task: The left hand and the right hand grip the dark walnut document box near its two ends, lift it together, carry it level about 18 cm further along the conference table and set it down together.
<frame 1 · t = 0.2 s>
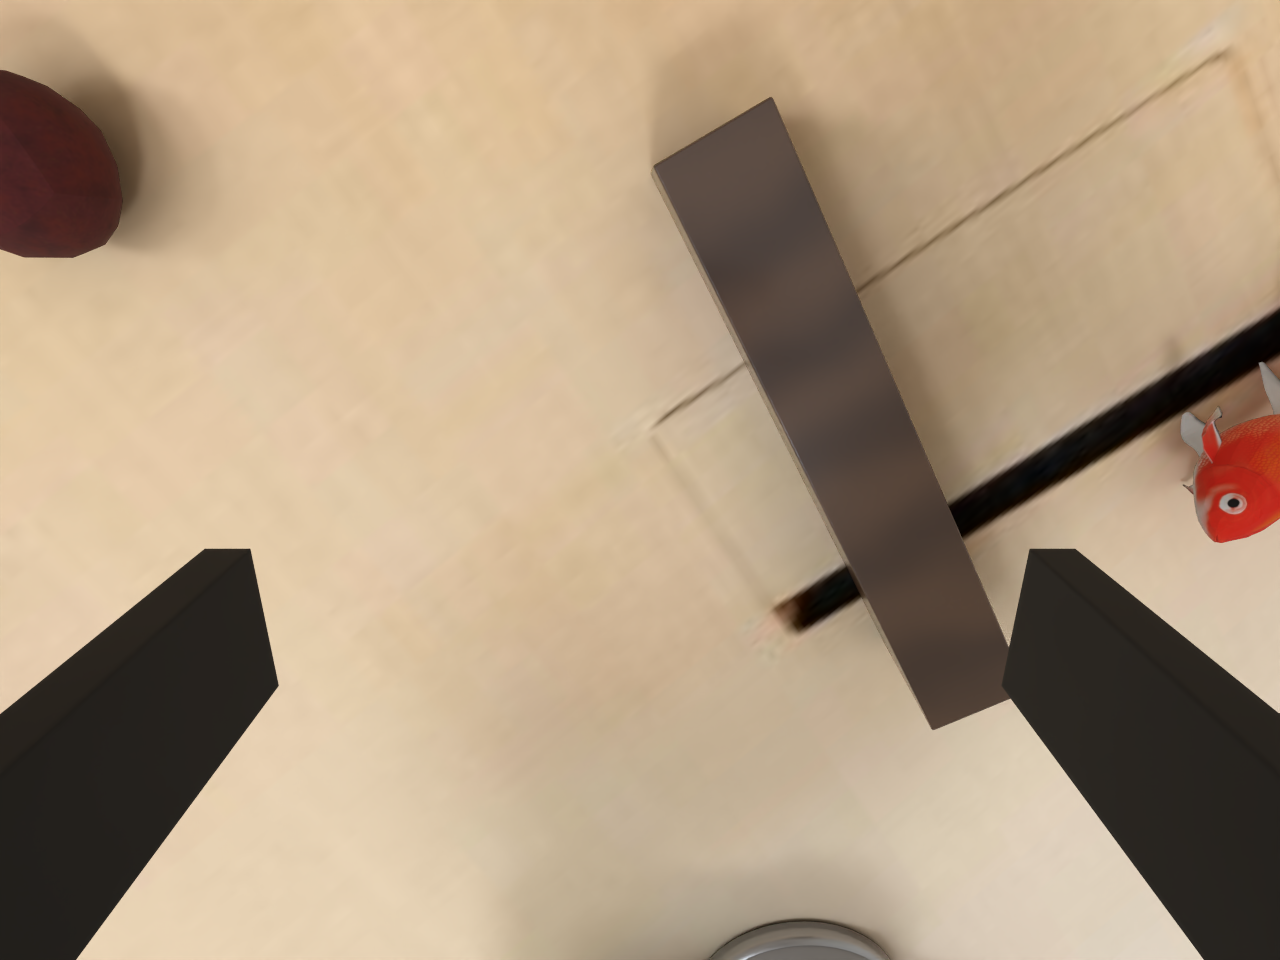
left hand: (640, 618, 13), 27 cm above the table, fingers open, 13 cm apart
walnut box: (823, 413, 40), on the table
fish: (1259, 388, 39), on the table
dark maroon ball: (80, 173, 36), on the table
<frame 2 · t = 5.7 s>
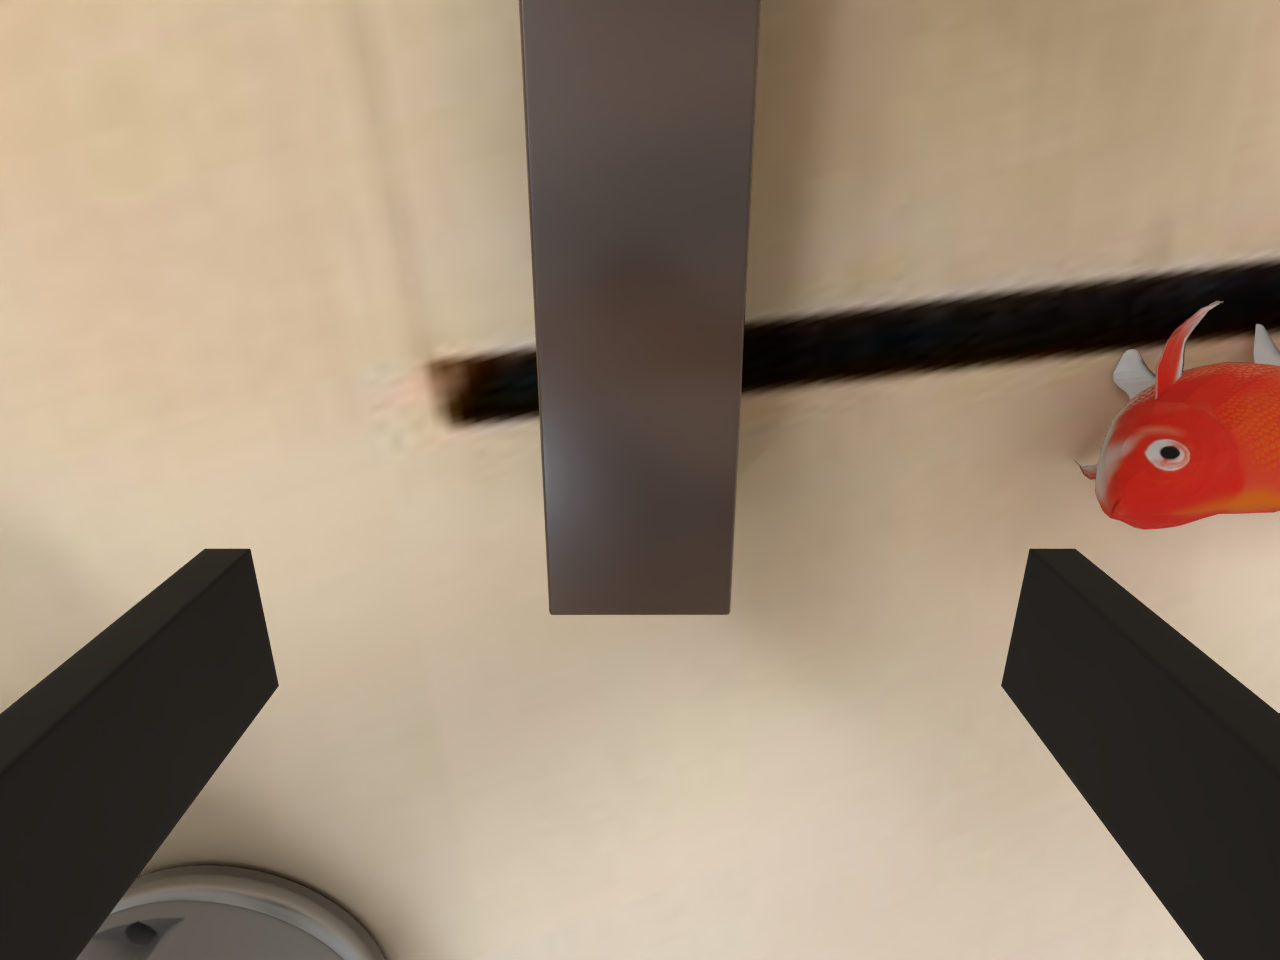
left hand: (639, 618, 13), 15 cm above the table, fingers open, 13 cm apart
walnut box: (639, 49, 23), on the table, touching right hand
fish: (1235, 366, 26), on the table
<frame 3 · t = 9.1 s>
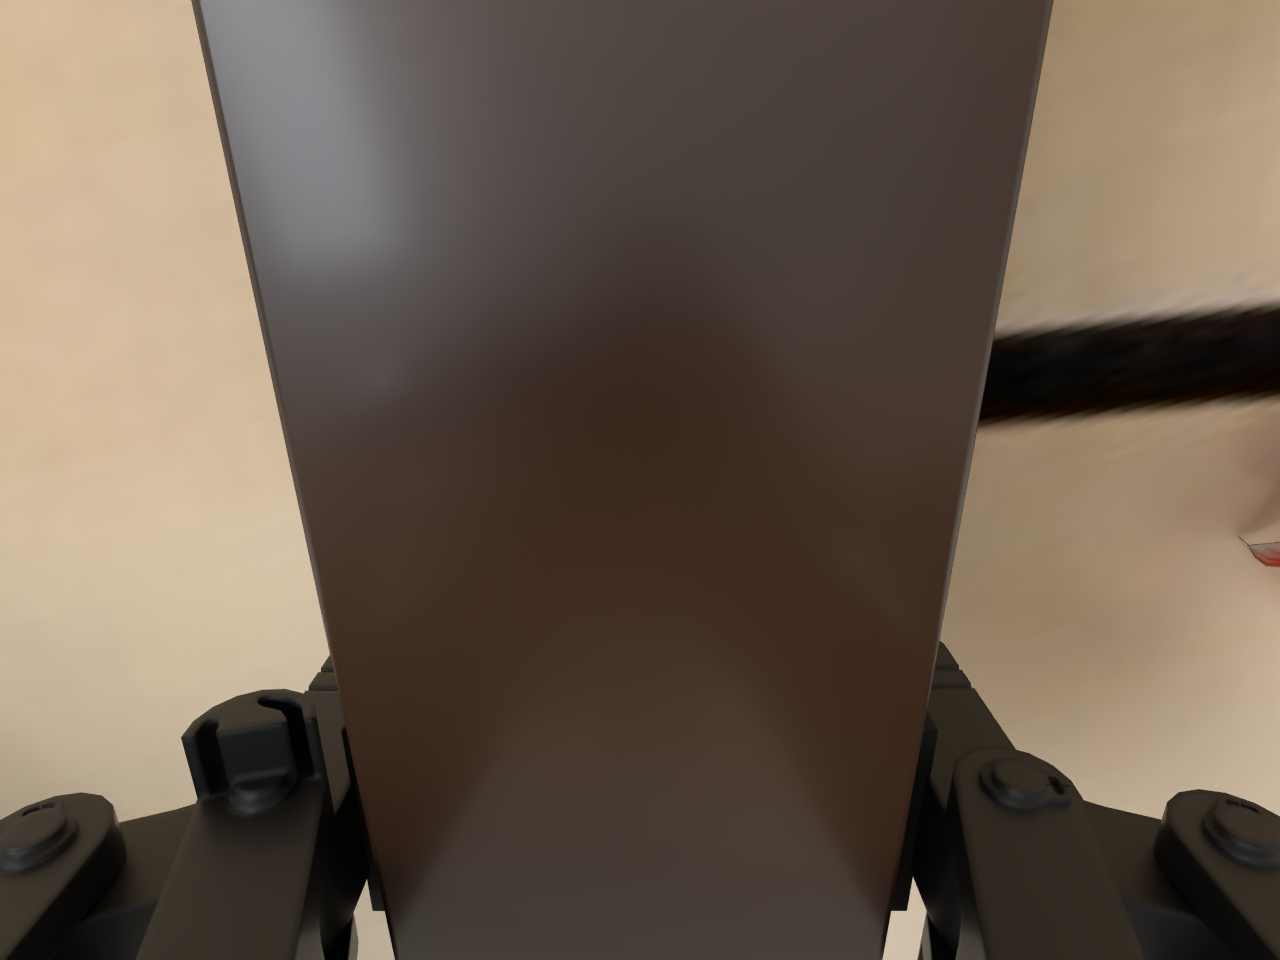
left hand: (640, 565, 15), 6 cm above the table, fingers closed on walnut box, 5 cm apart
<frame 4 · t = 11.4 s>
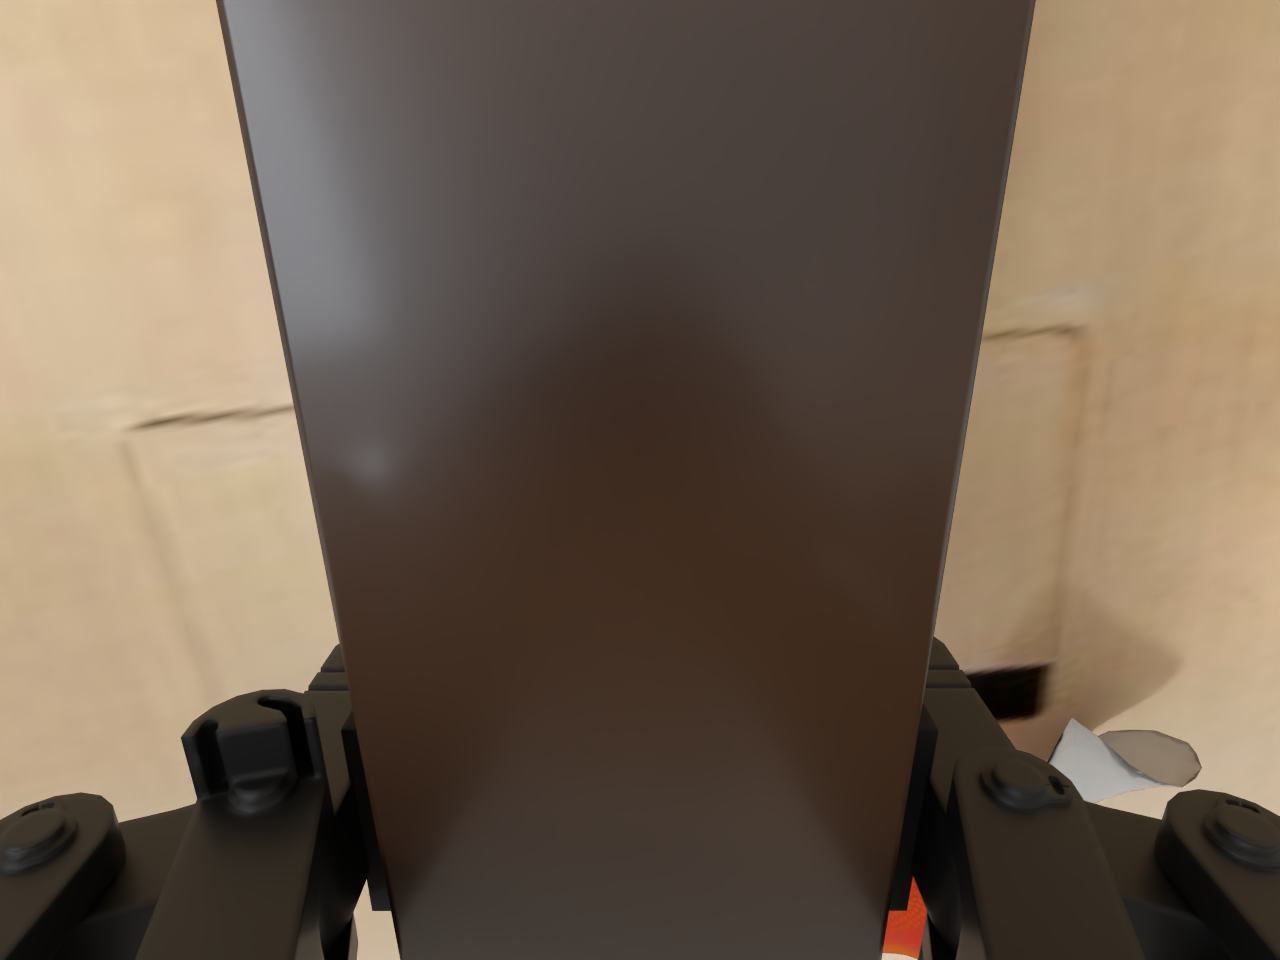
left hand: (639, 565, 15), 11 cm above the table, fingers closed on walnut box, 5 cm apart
fish: (941, 748, 30), on the table
when the left hand's fingers open (0 cm above the table, at t = 14.0 s): walnut box stays where it is, on the table.
when the right hand's fingers open (4 cm above the table, at t = 14.1 s): walnut box stays where it is, on the table.
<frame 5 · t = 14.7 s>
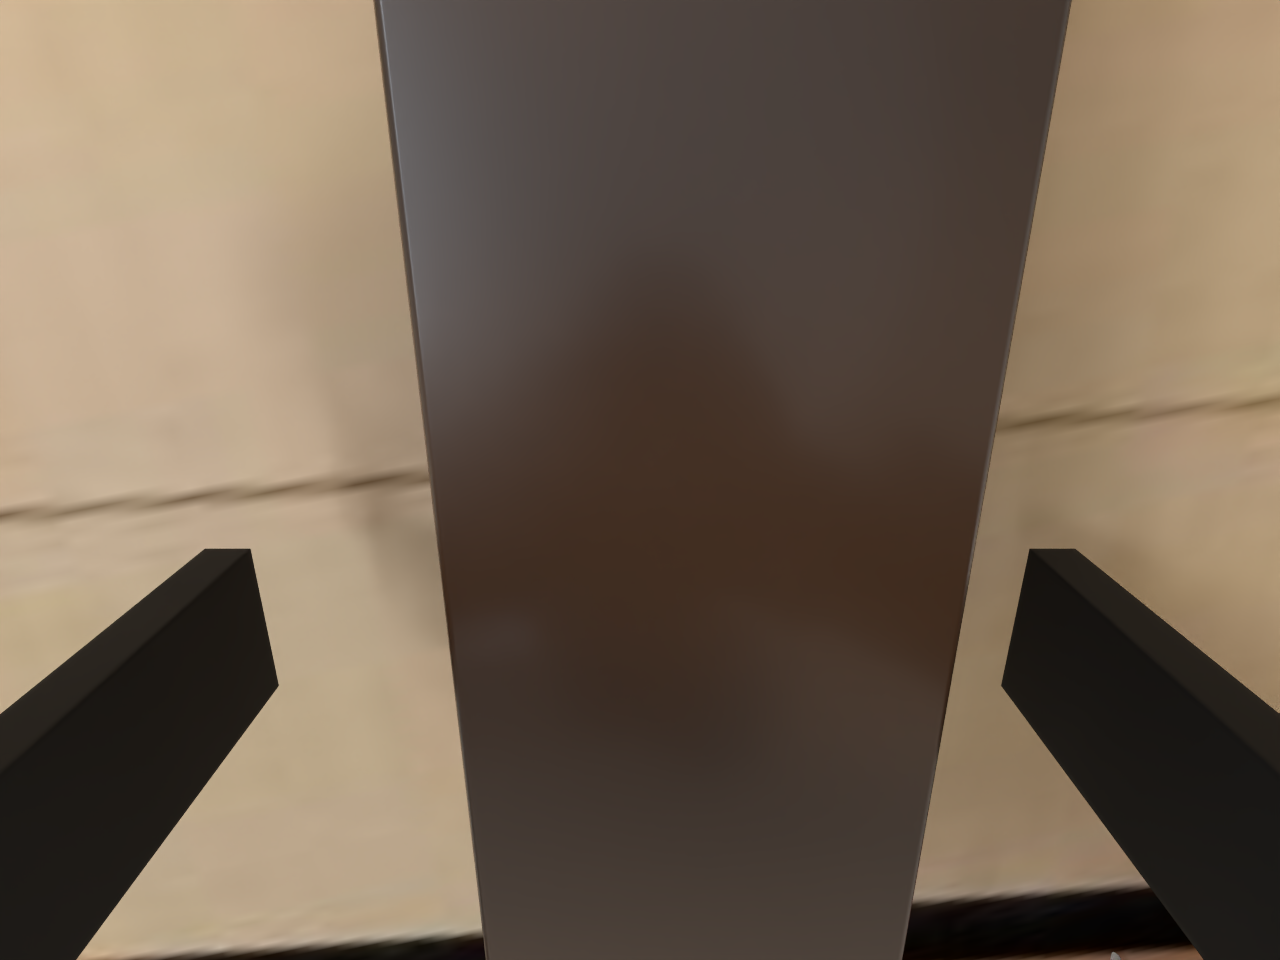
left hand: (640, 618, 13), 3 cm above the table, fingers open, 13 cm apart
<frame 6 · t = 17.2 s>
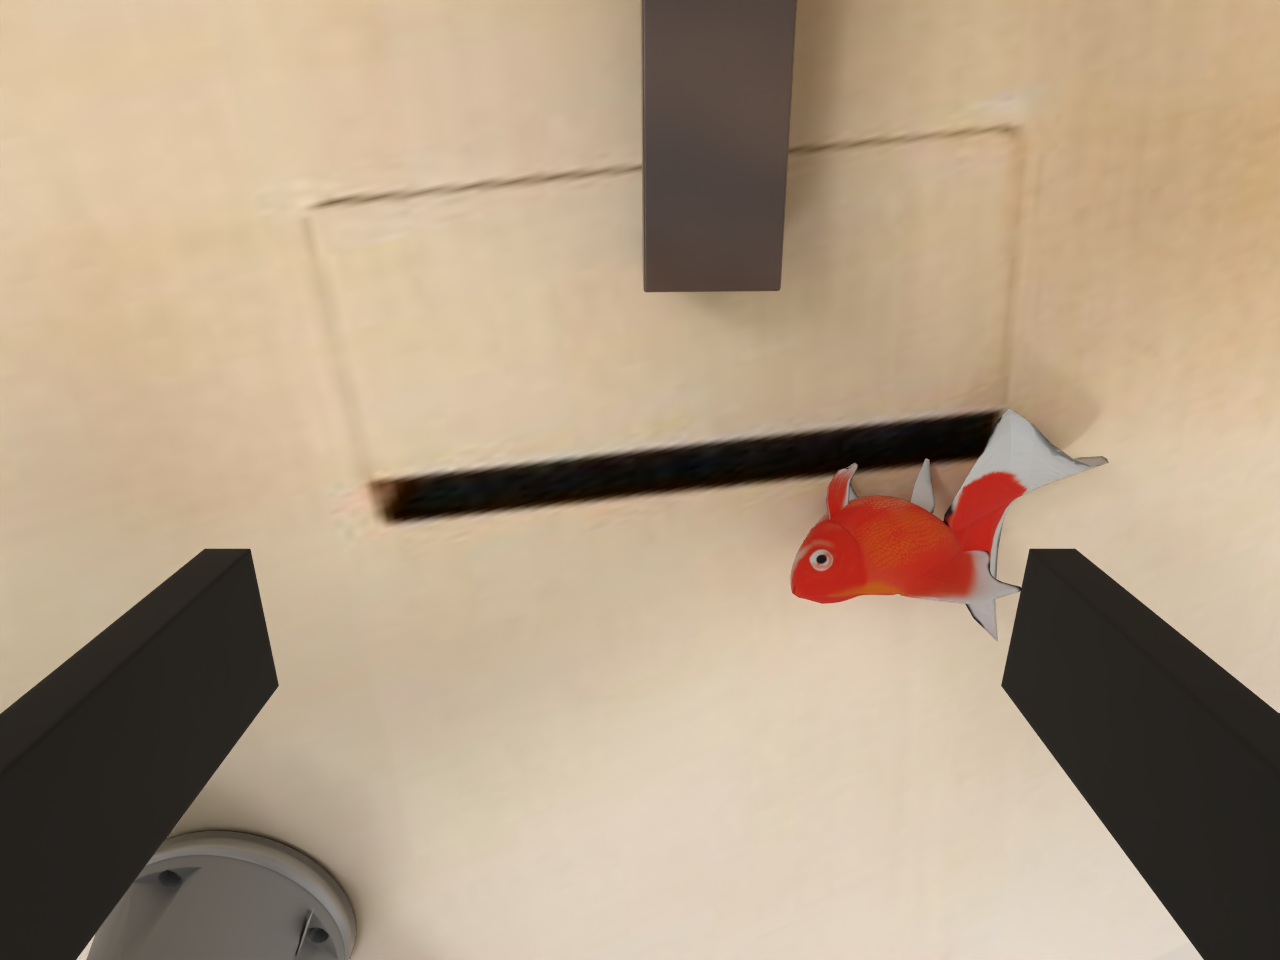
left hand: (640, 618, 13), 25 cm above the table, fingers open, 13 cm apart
fish: (917, 484, 38), on the table
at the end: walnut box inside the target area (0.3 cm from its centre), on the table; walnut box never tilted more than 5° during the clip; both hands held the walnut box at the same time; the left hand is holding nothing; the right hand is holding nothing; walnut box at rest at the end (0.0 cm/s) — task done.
